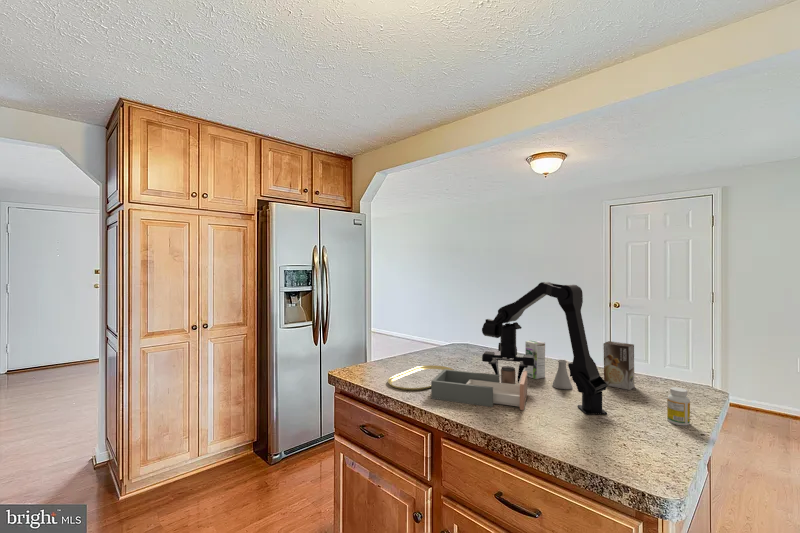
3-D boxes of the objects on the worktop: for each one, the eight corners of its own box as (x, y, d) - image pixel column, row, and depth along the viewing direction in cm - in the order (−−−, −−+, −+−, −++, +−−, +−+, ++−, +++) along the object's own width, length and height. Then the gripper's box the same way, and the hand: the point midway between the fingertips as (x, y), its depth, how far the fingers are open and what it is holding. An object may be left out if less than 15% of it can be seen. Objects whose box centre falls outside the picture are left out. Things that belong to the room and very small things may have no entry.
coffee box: (635, 387, 143) (635, 344, 143) (629, 390, 139) (629, 346, 139) (609, 381, 150) (609, 340, 150) (602, 384, 146) (602, 342, 146)
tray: (527, 393, 134) (527, 371, 134) (523, 410, 119) (523, 384, 119) (470, 387, 142) (470, 365, 142) (460, 401, 127) (460, 377, 127)
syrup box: (524, 375, 158) (524, 340, 158) (535, 374, 160) (535, 339, 160) (534, 379, 153) (534, 343, 153) (545, 377, 155) (545, 342, 155)
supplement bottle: (677, 426, 108) (677, 392, 108) (662, 419, 113) (662, 386, 113) (695, 425, 108) (694, 392, 108) (679, 418, 114) (679, 386, 114)
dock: (499, 391, 138) (499, 374, 138) (492, 406, 123) (492, 388, 123) (444, 384, 146) (444, 369, 146) (431, 398, 131) (431, 381, 131)
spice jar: (517, 389, 141) (517, 369, 141) (502, 389, 141) (502, 369, 141) (513, 384, 146) (513, 366, 146) (499, 384, 146) (499, 365, 146)
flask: (568, 384, 147) (568, 358, 147) (575, 390, 139) (575, 363, 139) (549, 383, 147) (549, 357, 147) (555, 389, 140) (555, 362, 140)
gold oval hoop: (378, 386, 145) (378, 382, 145) (426, 366, 174) (426, 363, 174) (419, 395, 135) (419, 391, 135) (463, 373, 163) (463, 369, 163)
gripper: (535, 337, 147) (535, 378, 147) (486, 334, 154) (486, 373, 154) (534, 343, 137) (534, 386, 137) (481, 339, 144) (481, 380, 144)
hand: (508, 381), depth 143 cm, fingers open, 7 cm apart
